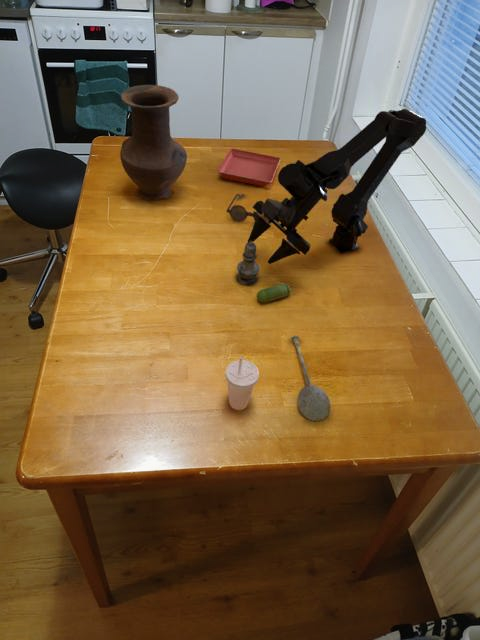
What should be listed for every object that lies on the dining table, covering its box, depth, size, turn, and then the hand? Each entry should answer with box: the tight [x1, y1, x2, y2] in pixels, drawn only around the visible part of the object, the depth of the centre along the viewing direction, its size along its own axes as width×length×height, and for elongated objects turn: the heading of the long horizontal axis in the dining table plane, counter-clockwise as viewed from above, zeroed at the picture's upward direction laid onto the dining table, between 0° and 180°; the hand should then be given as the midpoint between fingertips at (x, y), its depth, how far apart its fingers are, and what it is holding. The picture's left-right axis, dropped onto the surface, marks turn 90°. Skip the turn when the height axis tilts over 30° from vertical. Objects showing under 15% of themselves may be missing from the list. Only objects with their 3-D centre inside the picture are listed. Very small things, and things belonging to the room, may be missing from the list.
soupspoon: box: [290, 335, 331, 423], centre depth 104 cm, size 22×3×7 cm
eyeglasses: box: [226, 193, 273, 225], centre depth 147 cm, size 15×15×5 cm
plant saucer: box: [217, 147, 281, 187], centre depth 164 cm, size 18×18×3 cm
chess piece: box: [236, 240, 261, 286], centre depth 122 cm, size 6×6×12 cm
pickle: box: [256, 283, 292, 303], centre depth 121 cm, size 9×3×3 cm, turn 116°
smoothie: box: [224, 356, 260, 411], centre depth 94 cm, size 6×6×14 cm
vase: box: [119, 84, 188, 202], centre depth 141 cm, size 19×19×30 cm
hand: (258, 252), depth 122 cm, fingers open, 9 cm apart
